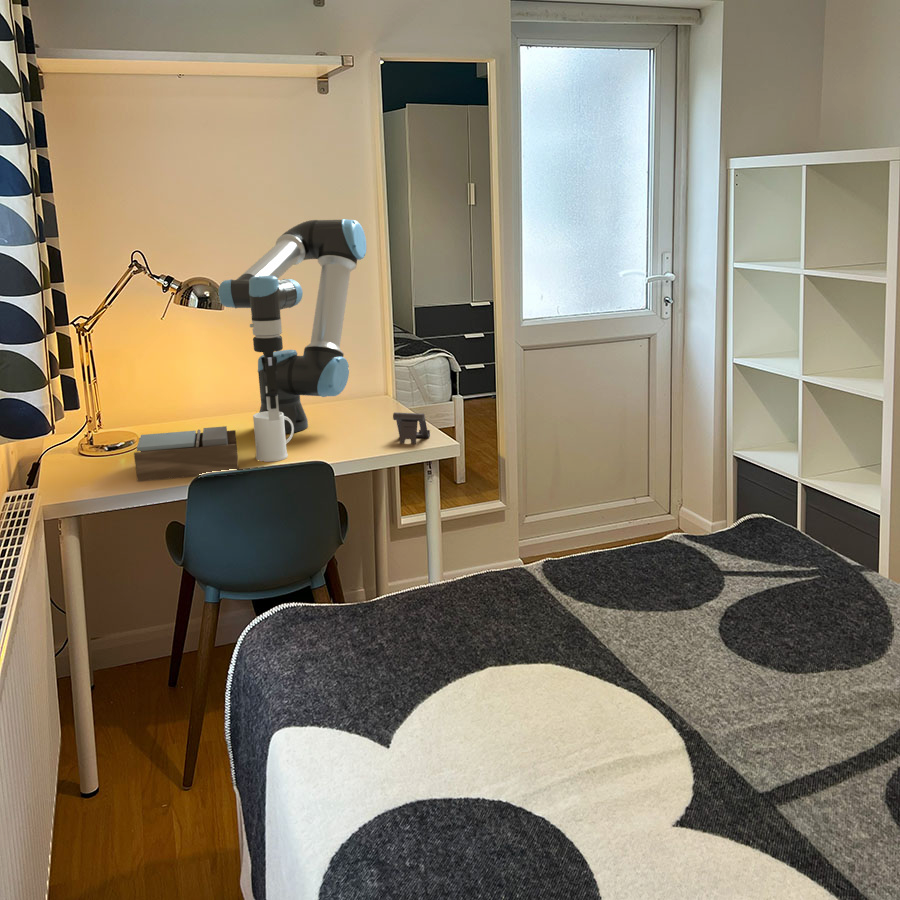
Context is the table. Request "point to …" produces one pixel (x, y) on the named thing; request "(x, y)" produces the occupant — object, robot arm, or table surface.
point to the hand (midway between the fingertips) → (273, 414)
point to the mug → (270, 437)
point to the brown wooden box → (186, 460)
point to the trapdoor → (183, 439)
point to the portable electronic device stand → (411, 426)
